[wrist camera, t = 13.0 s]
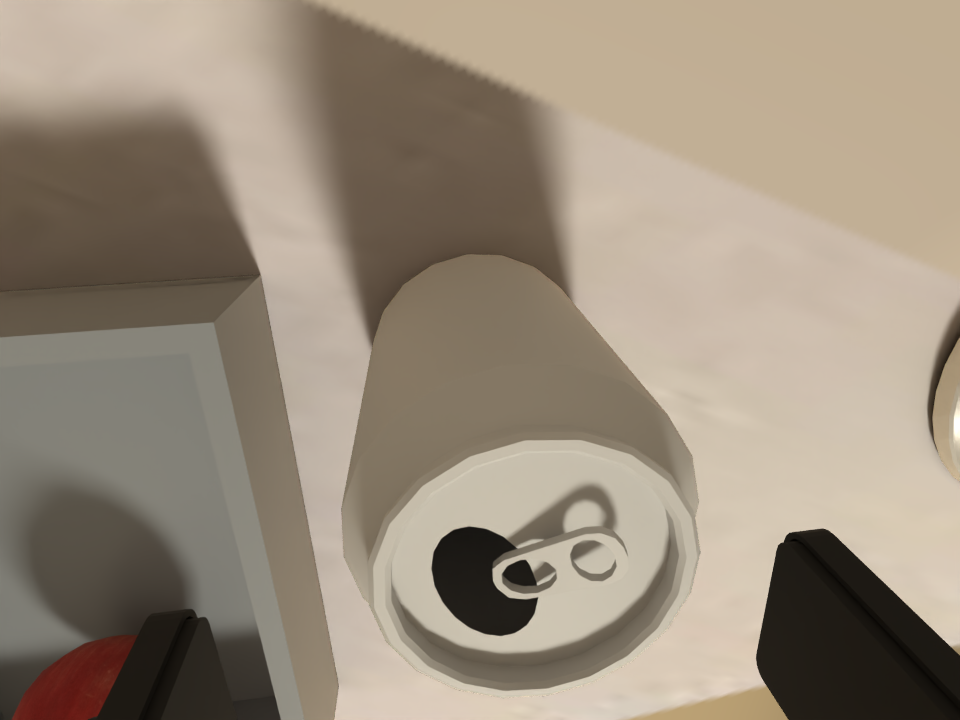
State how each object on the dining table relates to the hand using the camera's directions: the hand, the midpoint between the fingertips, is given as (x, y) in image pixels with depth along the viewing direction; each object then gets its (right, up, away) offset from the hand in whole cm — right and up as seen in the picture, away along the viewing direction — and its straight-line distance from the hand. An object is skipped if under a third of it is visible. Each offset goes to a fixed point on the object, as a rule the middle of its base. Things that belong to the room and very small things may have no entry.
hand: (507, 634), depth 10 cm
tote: (-15, -2, +13) cm, 20 cm away
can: (-1, +5, +12) cm, 13 cm away
